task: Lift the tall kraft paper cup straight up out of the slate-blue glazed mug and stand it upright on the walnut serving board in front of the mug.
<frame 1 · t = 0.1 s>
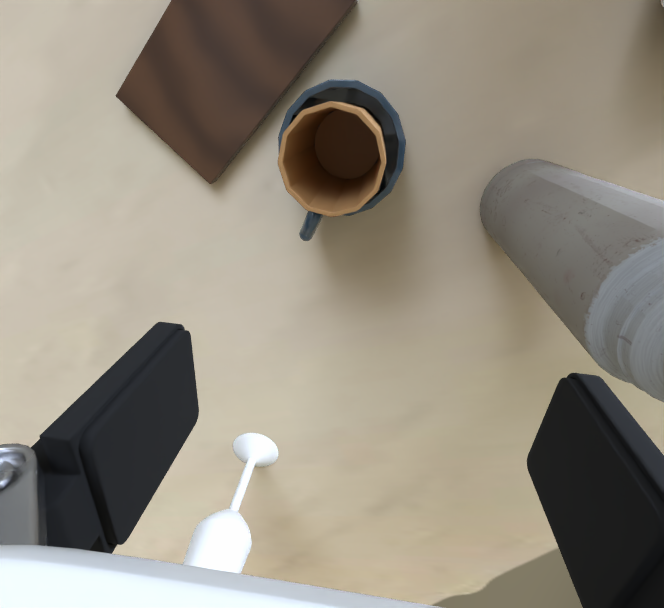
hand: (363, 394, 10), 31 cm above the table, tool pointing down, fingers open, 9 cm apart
champagne flute: (255, 449, 56), on the table
serving board: (231, 52, 34), on the table
paper cup: (347, 144, 36), point 1 cm above the table, touching mug
mug: (348, 143, 37), on the table, touching paper cup
thermos bottle: (523, 203, 37), on the table
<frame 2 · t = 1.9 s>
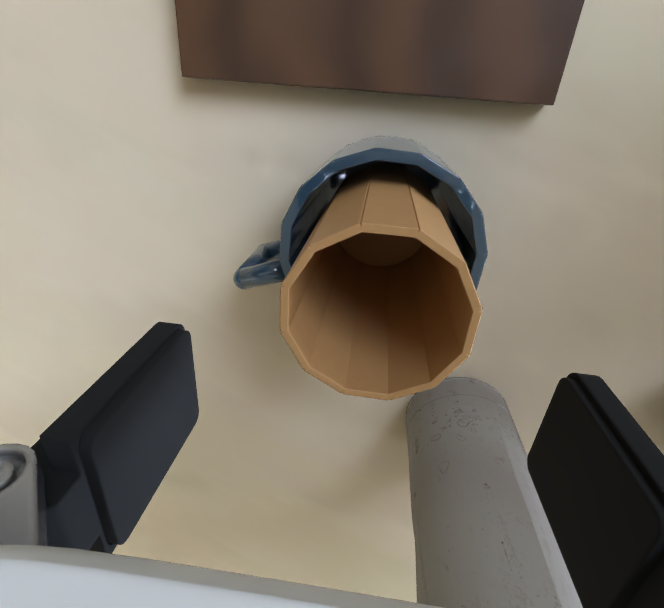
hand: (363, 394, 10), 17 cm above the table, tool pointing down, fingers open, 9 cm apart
paper cup: (381, 219, 25), point 1 cm above the table, touching mug
mug: (381, 217, 25), on the table, touching paper cup
thermos bottle: (455, 415, 32), on the table
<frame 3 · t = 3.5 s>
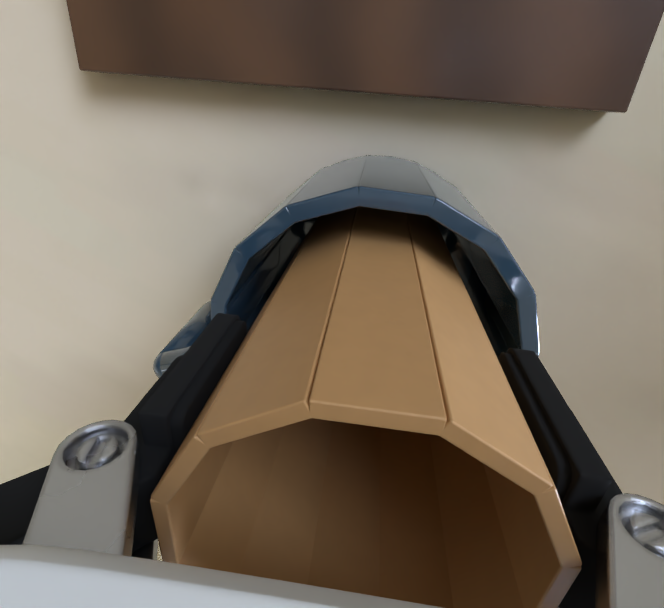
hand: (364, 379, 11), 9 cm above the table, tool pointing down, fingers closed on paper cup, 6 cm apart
paper cup: (372, 269, 18), point 1 cm above the table, touching gripper, mug
mug: (372, 264, 18), on the table, touching paper cup
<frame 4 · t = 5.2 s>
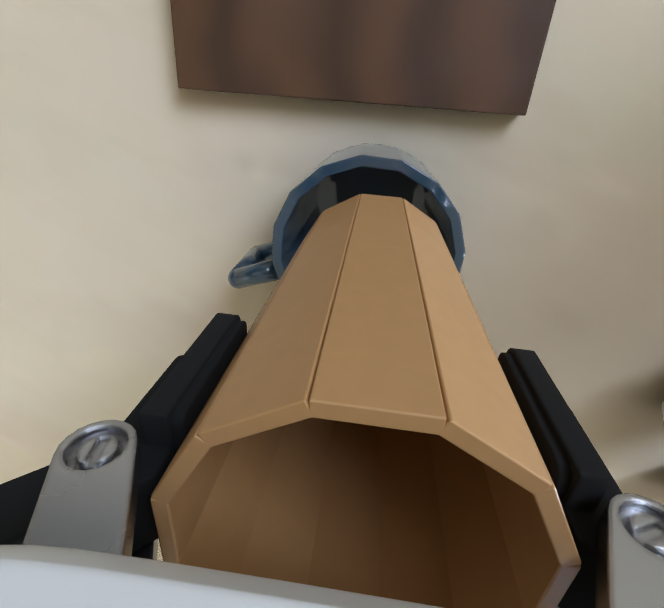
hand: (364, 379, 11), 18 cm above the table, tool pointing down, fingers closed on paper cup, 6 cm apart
paper cup: (372, 268, 18), point 10 cm above the table, touching gripper
mug: (368, 220, 27), on the table
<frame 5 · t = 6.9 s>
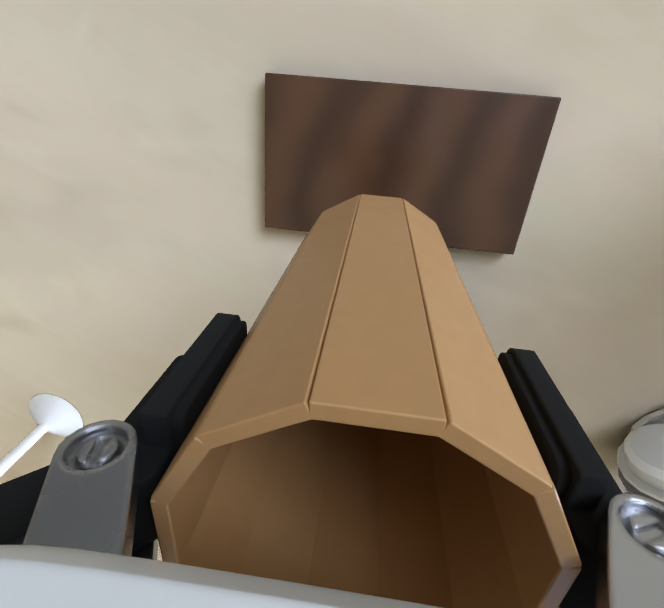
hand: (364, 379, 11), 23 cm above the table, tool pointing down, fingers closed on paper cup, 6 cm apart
champagne flute: (57, 414, 47), on the table
serving board: (396, 167, 30), on the table
paper cup: (372, 269, 18), point 15 cm above the table, touching gripper
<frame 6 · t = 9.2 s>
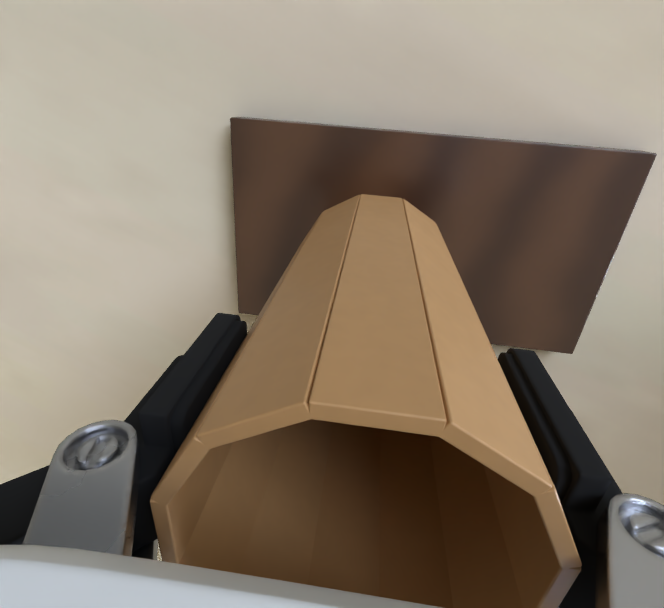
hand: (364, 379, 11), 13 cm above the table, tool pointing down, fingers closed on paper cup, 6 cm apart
serving board: (414, 239, 22), on the table
paper cup: (372, 269, 18), point 5 cm above the table, touching gripper
when the fingers open (9 cm above the table, at t = 10.7 s): paper cup stays where it is, resting on serving board.
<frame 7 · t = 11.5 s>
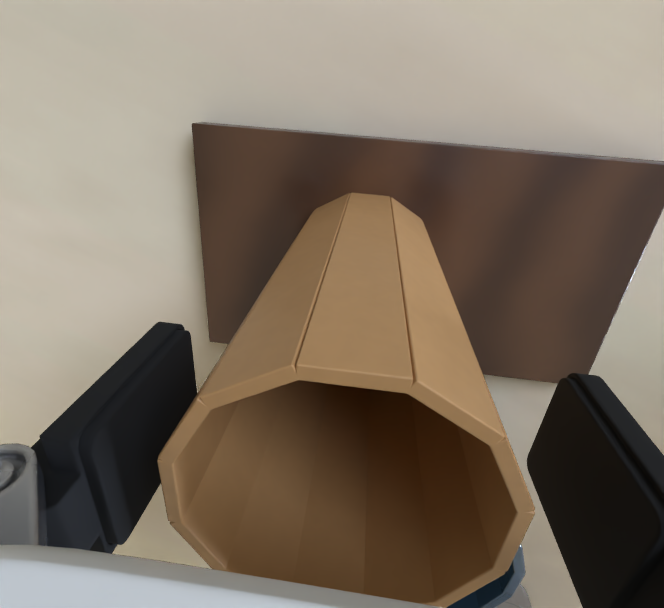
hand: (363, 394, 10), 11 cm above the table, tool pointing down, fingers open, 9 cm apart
serving board: (405, 259, 20), on the table
paper cup: (362, 264, 19), point 1 cm above the table, touching serving board
mug: (406, 445, 25), on the table
thermos bottle: (475, 595, 32), on the table
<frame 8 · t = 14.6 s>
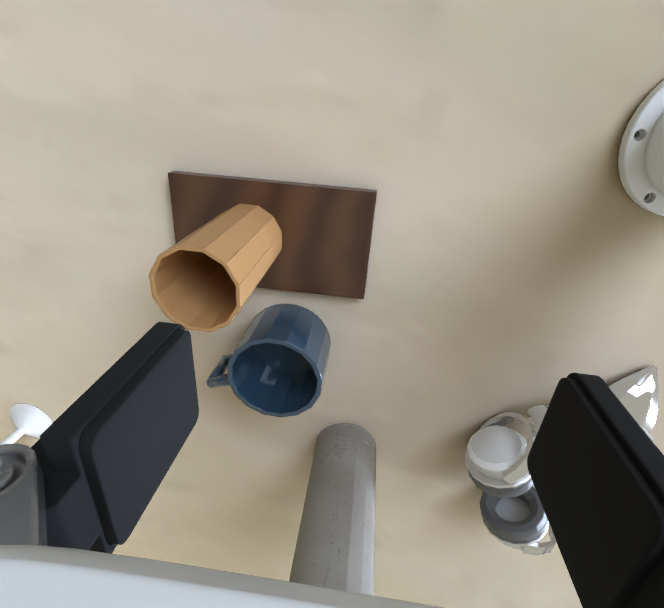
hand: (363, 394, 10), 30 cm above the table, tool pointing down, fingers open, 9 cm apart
champagne flute: (32, 420, 58), on the table
headphones: (556, 450, 49), on the table
serving board: (273, 235, 40), on the table
paper cup: (249, 237, 40), point 1 cm above the table, touching serving board
mug: (289, 340, 46), on the table
thermos bottle: (346, 444, 53), on the table
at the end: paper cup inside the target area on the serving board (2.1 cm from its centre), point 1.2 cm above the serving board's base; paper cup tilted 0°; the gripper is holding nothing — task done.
